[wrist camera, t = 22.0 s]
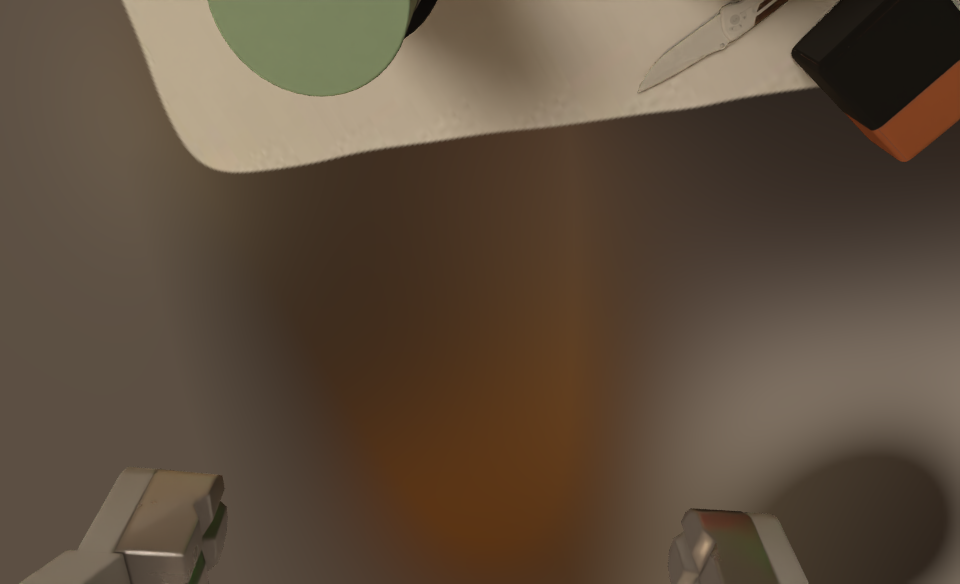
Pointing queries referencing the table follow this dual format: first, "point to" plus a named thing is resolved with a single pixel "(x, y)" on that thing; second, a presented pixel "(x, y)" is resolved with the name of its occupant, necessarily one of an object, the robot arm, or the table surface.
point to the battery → (889, 68)
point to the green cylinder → (314, 40)
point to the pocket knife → (710, 38)
